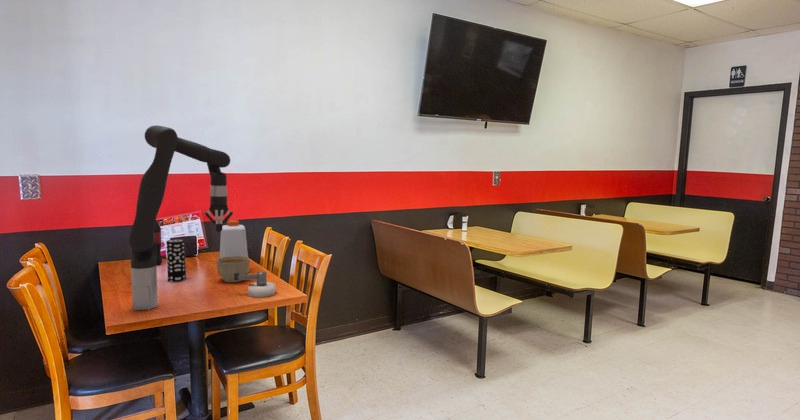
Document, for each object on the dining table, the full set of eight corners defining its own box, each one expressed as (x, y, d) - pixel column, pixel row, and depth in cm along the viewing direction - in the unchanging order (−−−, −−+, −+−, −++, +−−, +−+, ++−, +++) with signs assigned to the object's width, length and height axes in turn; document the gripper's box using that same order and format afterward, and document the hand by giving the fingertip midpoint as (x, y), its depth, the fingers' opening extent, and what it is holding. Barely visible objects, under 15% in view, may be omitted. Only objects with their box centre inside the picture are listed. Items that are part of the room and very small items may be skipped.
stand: (273, 297, 214) (273, 287, 214) (246, 297, 212) (246, 287, 212) (276, 289, 226) (276, 280, 226) (250, 290, 224) (250, 280, 224)
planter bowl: (215, 285, 231) (214, 263, 230) (218, 277, 247) (217, 256, 245) (249, 283, 235) (249, 262, 234) (250, 275, 251) (250, 255, 250)
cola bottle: (146, 264, 271) (143, 212, 268) (162, 262, 275) (160, 211, 272) (145, 267, 264) (142, 213, 260) (162, 266, 267) (160, 213, 264)
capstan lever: (267, 283, 221) (267, 271, 221) (266, 285, 217) (265, 273, 216) (235, 284, 219) (235, 271, 218) (233, 286, 215) (233, 274, 214)
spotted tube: (178, 282, 235) (177, 242, 232) (164, 281, 236) (162, 241, 234) (189, 278, 243) (188, 239, 241) (175, 277, 244) (173, 239, 242)
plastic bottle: (249, 274, 254) (248, 222, 251) (219, 276, 248) (218, 223, 245) (247, 267, 268) (246, 218, 265) (218, 269, 262) (217, 219, 259)
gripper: (232, 194, 228) (232, 230, 230) (202, 194, 222) (203, 231, 224) (234, 195, 221) (234, 232, 223) (204, 195, 215) (204, 233, 217)
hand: (218, 231), depth 224 cm, fingers closed
